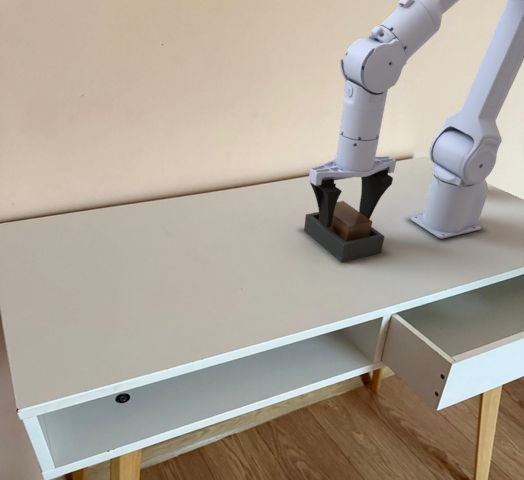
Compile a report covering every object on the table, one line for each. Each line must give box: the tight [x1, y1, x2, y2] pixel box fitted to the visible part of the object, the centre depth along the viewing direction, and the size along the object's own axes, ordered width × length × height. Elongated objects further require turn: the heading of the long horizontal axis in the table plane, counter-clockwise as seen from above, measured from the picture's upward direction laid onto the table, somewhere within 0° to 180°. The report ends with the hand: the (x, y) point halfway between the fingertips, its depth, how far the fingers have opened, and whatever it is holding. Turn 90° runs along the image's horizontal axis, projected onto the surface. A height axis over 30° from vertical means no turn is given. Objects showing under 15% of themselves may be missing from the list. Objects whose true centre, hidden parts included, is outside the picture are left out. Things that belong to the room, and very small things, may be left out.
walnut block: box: [319, 200, 373, 242], centre depth 89 cm, size 4×8×4 cm, turn 28°
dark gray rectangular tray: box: [303, 211, 386, 263], centre depth 90 cm, size 8×11×3 cm
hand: (345, 220), depth 88 cm, fingers open, 7 cm apart
